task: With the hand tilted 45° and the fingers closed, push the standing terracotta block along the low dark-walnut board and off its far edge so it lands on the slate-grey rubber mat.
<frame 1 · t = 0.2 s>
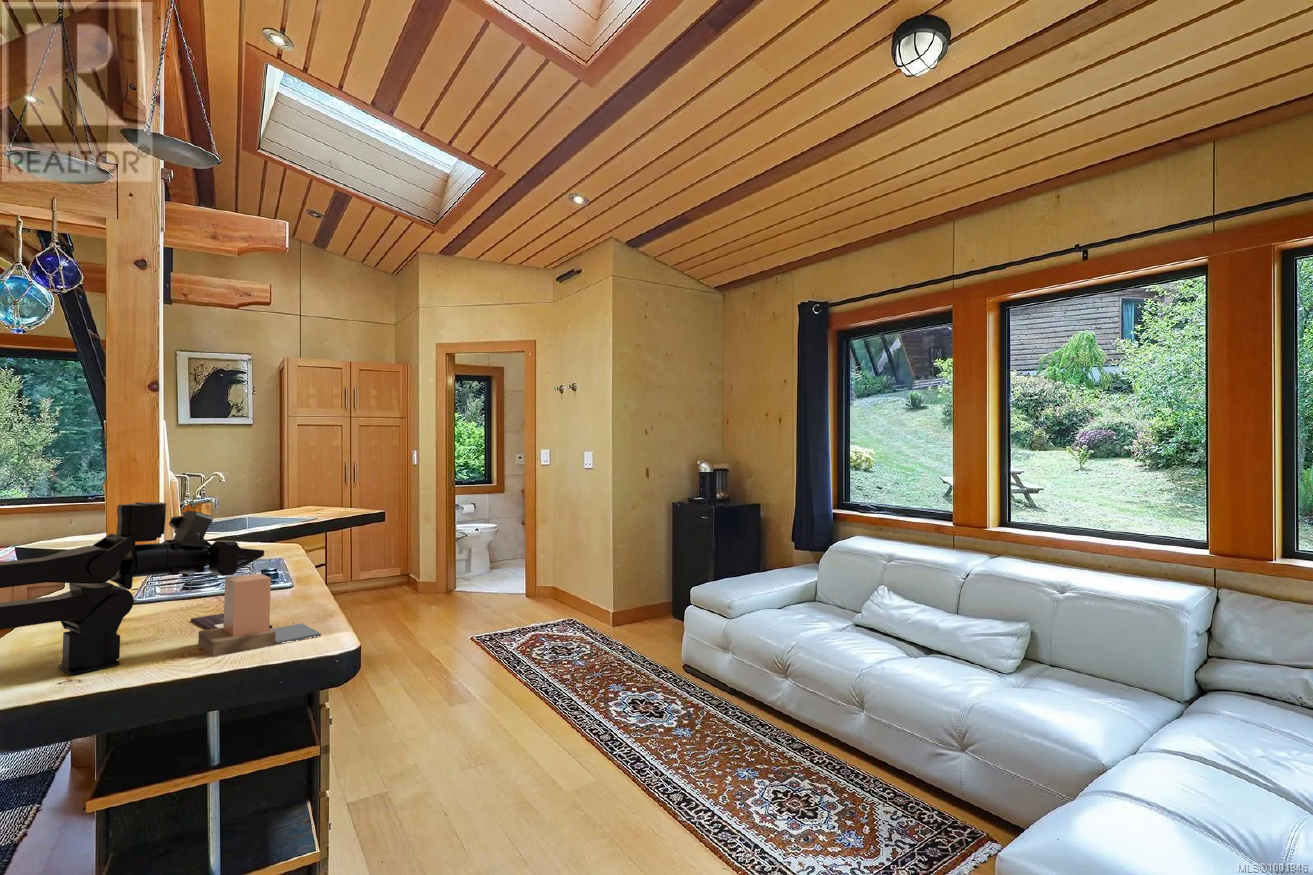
hand: (251, 551, 130), 16 cm above the counter, tool horizontal, fingers open, 9 cm apart
block: (246, 630, 123), point 2 cm above the counter, touching board
chocolate bar: (230, 627, 135), on the counter
mat: (289, 635, 129), on the counter
board: (236, 644, 122), on the counter
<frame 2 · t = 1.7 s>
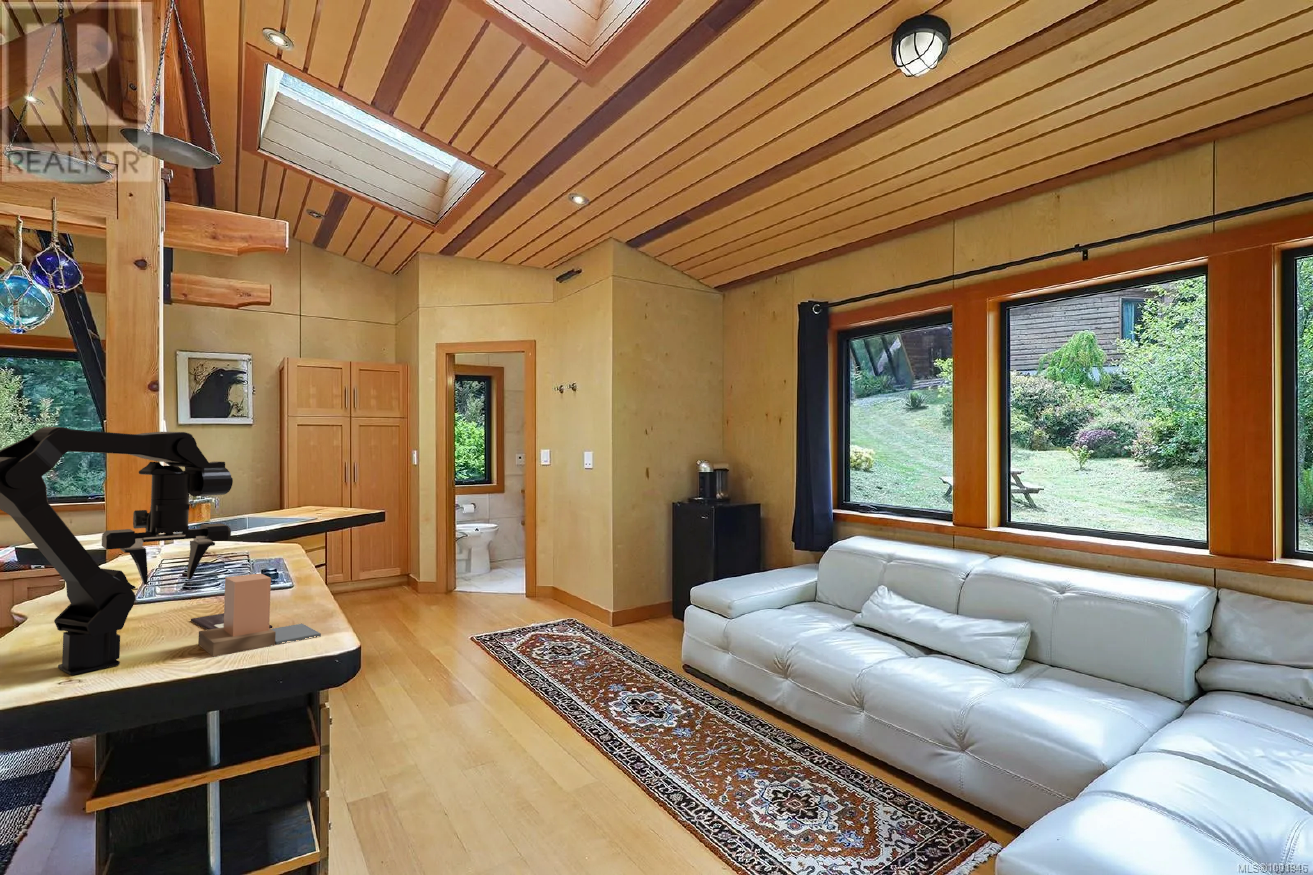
hand: (167, 581, 120), 12 cm above the counter, tool pointing down, fingers open, 6 cm apart
nothing on the counter moved.
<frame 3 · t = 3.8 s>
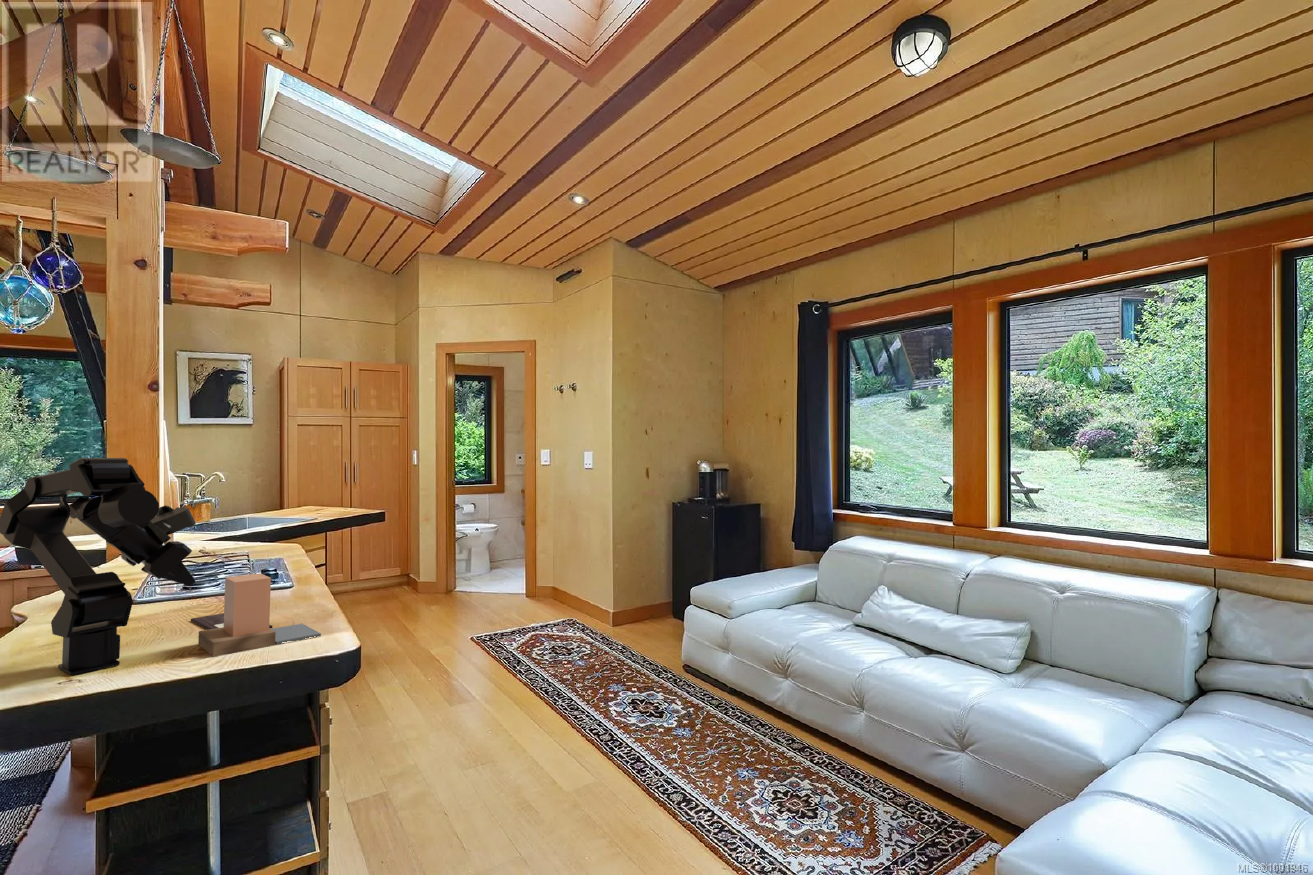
hand: (192, 583, 117), 12 cm above the counter, tool tilted 45°, fingers closed
nothing on the counter moved.
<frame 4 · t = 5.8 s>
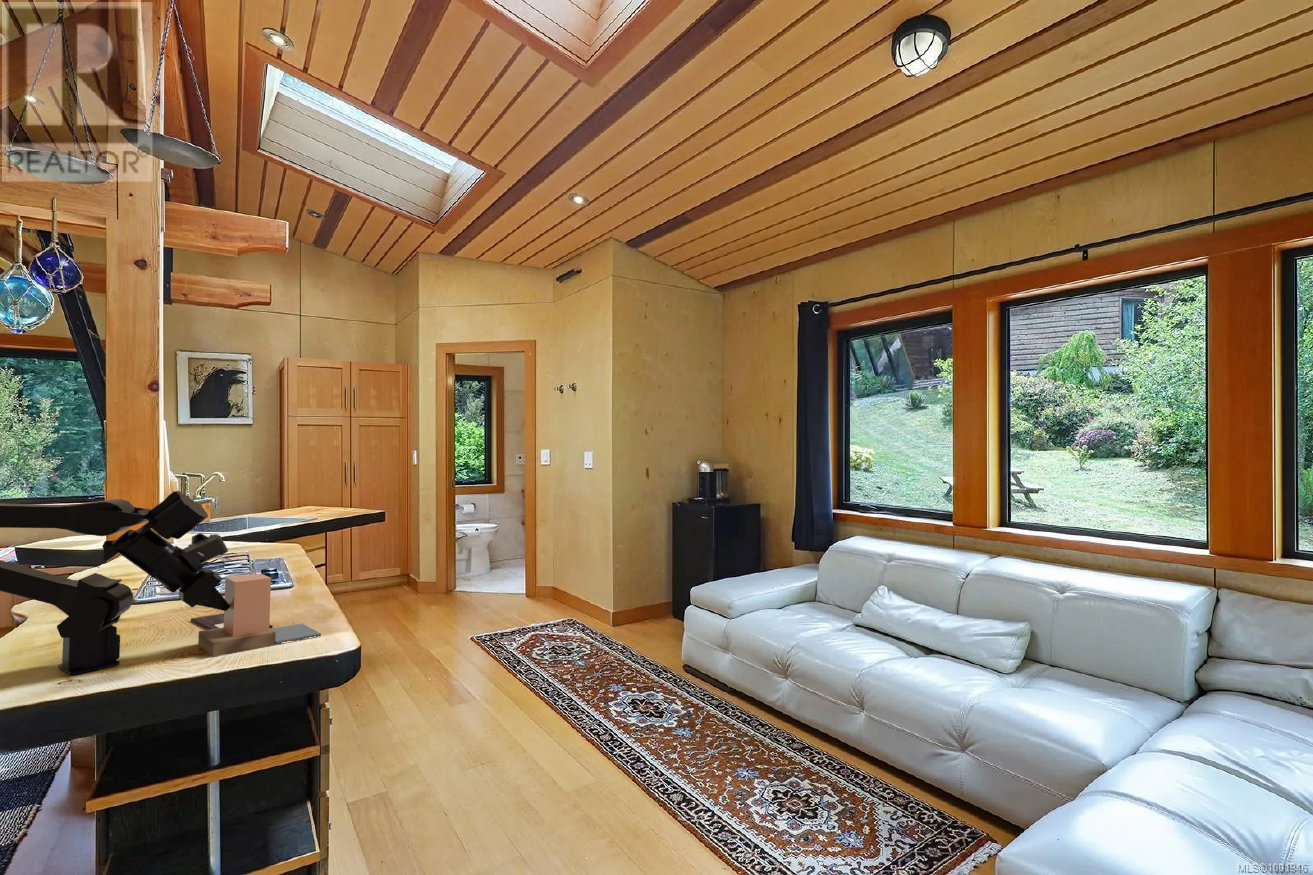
hand: (227, 608, 120), 7 cm above the counter, tool tilted 45°, fingers closed, pressing on block
block: (246, 630, 123), point 3 cm above the counter, touching board, gripper
everything else where it was.
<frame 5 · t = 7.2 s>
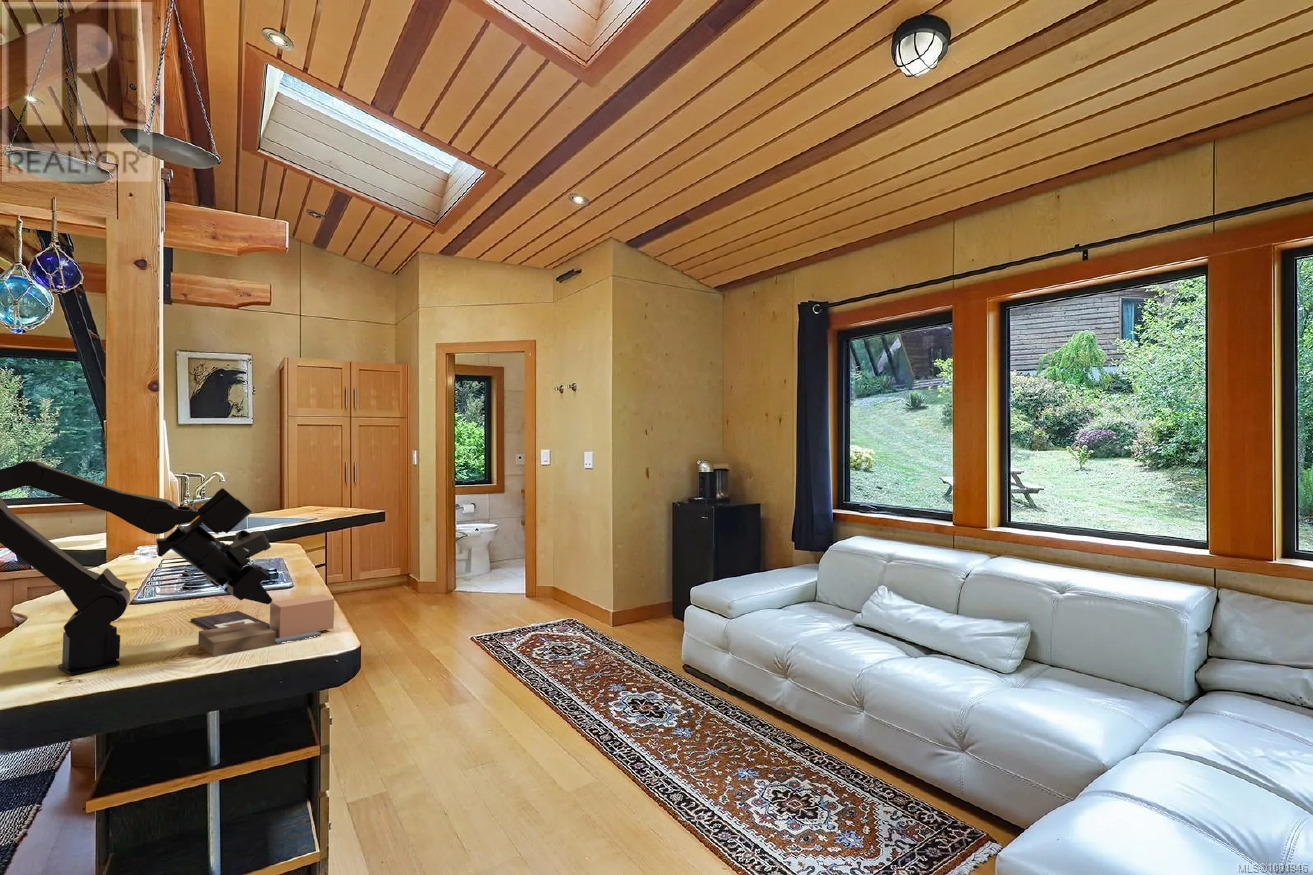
hand: (270, 602, 126), 7 cm above the counter, tool tilted 45°, fingers closed
block: (274, 619, 127), point 4 cm above the counter, tilted 90°, touching mat
everything else where it was.
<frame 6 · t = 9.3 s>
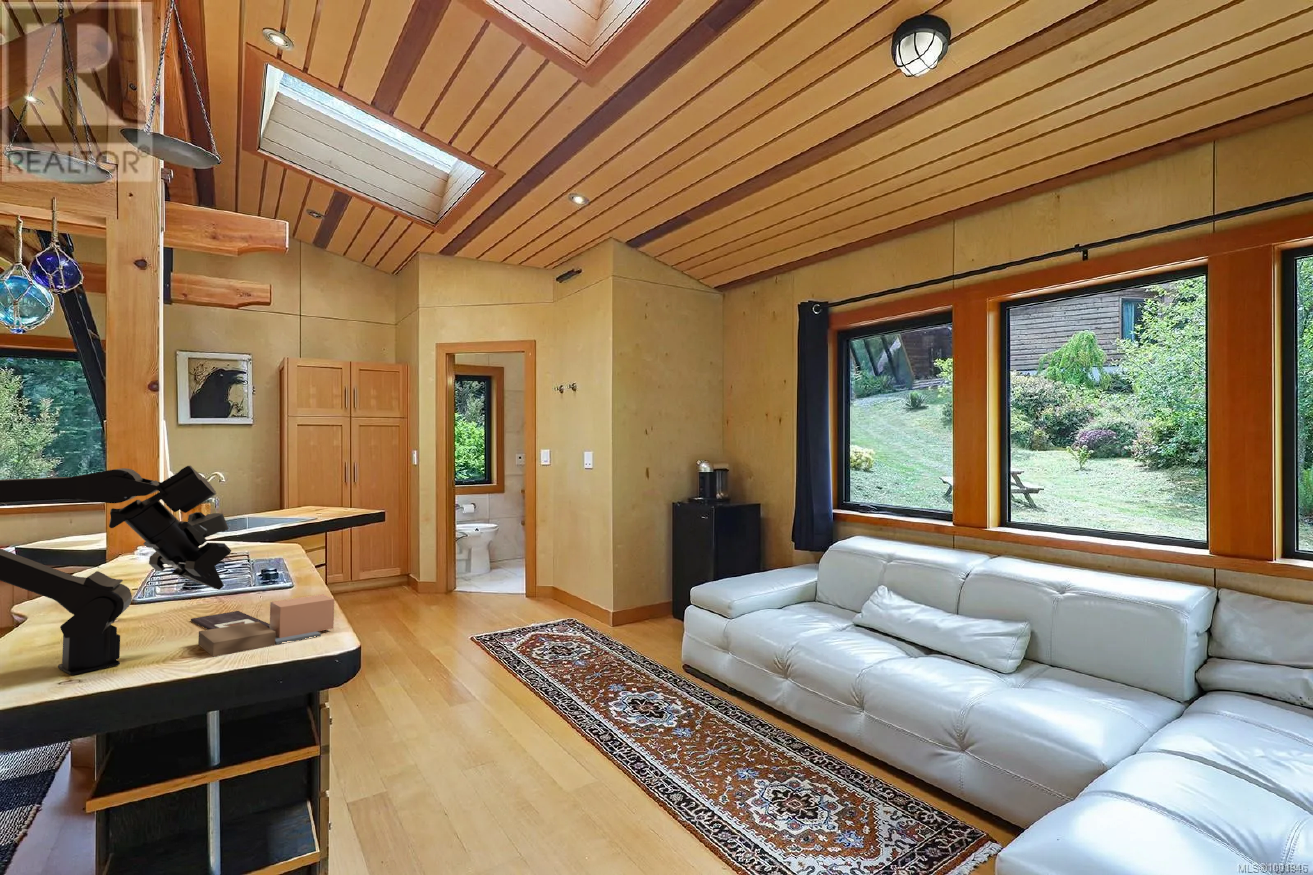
hand: (220, 587, 121), 11 cm above the counter, tool tilted 40°, fingers closed
nothing on the counter moved.
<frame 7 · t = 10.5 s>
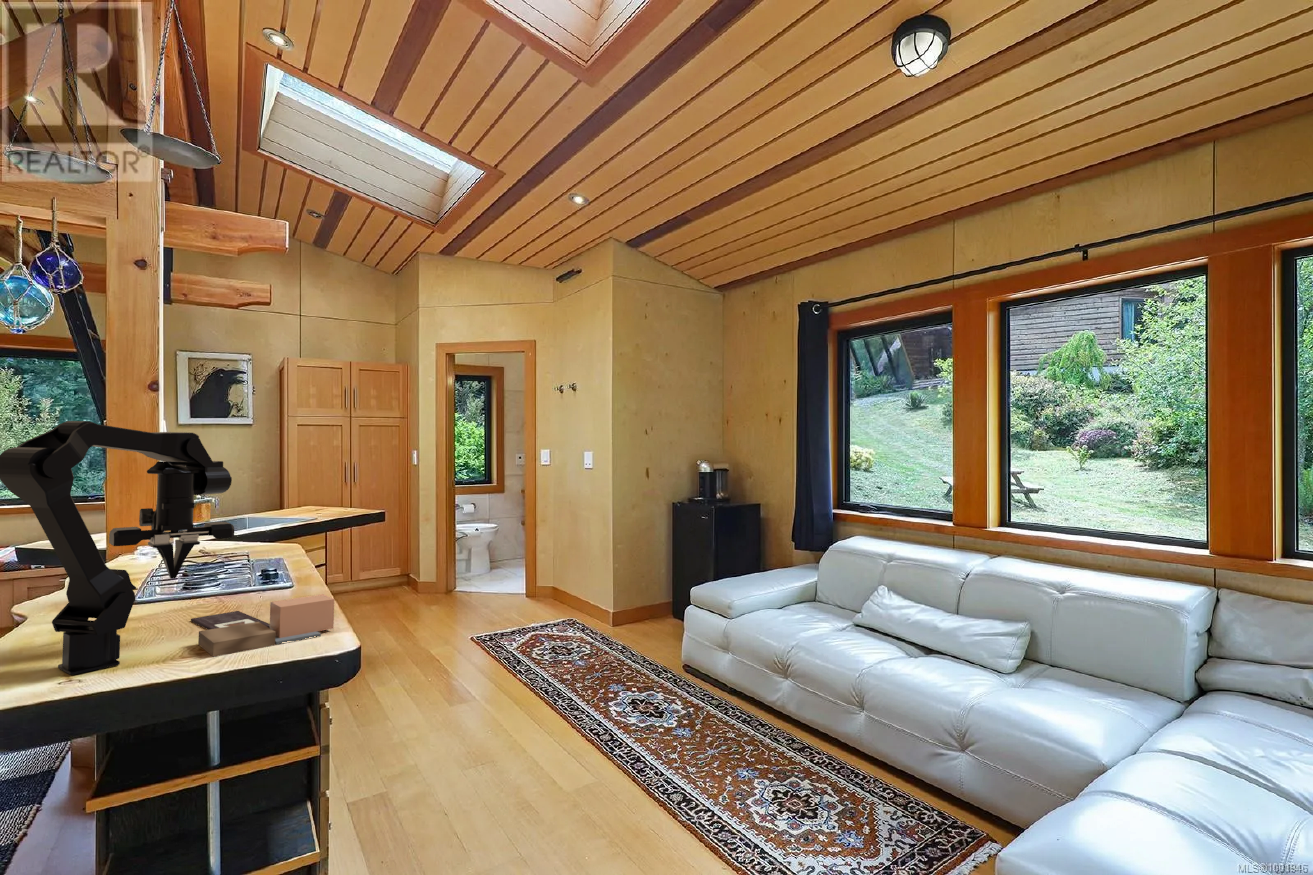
hand: (172, 578, 124), 12 cm above the counter, tool pointing down, fingers closed
nothing on the counter moved.
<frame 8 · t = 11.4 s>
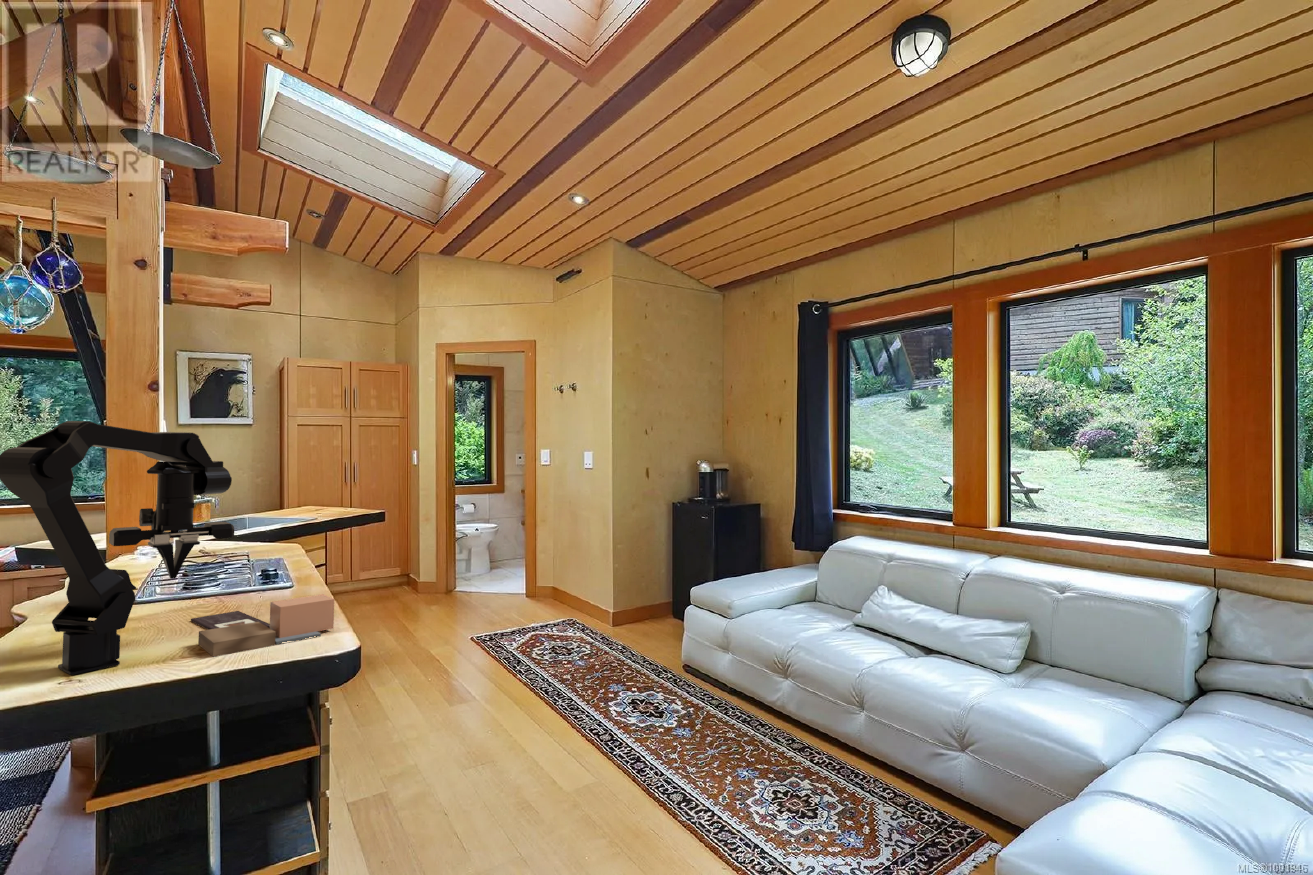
hand: (172, 578, 124), 12 cm above the counter, tool pointing down, fingers closed
nothing on the counter moved.
at the end: block inside the target area on the mat (3.2 cm from its centre), point 3.6 cm above the mat's base; block touching mat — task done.
